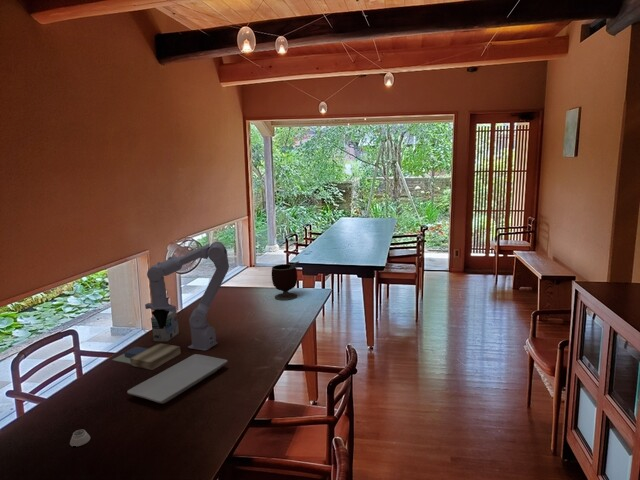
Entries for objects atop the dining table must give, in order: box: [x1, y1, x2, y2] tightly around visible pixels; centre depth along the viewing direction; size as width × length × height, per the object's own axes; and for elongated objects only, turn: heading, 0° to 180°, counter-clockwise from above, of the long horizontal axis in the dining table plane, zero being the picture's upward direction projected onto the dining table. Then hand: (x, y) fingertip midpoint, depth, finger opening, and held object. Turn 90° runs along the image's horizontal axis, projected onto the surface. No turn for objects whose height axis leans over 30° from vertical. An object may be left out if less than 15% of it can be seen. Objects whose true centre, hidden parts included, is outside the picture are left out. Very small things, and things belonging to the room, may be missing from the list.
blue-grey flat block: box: [123, 346, 149, 358], centre depth 182 cm, size 8×6×2 cm
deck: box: [130, 342, 182, 371], centre depth 177 cm, size 11×15×3 cm
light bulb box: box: [150, 310, 180, 342], centre depth 200 cm, size 11×7×11 cm, turn 168°
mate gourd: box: [271, 260, 300, 302], centre depth 247 cm, size 16×14×20 cm
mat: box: [111, 353, 131, 365], centre depth 182 cm, size 11×13×1 cm
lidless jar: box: [69, 429, 91, 447], centre depth 126 cm, size 5×3×5 cm
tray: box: [126, 353, 228, 405], centre depth 157 cm, size 17×31×4 cm, turn 150°
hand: (162, 326), depth 185 cm, fingers closed
